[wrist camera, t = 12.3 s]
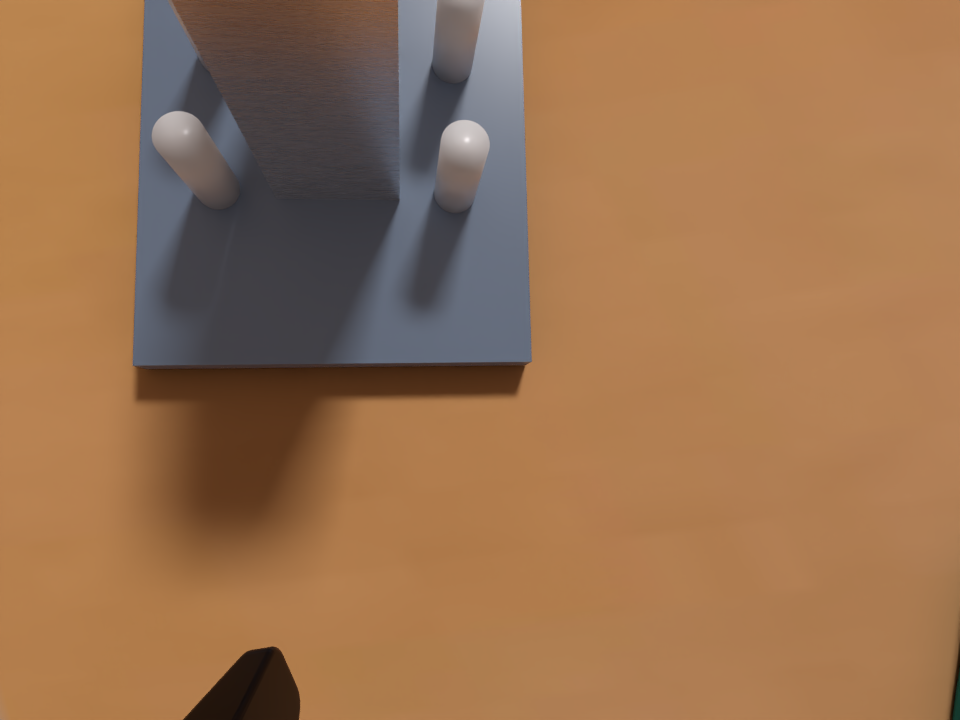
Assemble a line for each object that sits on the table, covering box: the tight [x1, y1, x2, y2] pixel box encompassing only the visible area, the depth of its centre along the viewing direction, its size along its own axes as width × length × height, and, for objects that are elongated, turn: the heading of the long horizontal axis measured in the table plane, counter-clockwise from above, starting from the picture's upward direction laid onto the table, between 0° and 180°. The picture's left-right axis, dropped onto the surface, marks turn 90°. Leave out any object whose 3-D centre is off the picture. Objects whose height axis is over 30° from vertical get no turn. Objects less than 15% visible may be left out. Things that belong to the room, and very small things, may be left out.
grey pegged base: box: [133, 0, 532, 369], centre depth 19 cm, size 14×11×4 cm
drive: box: [172, 0, 400, 200], centre depth 15 cm, size 4×4×10 cm
